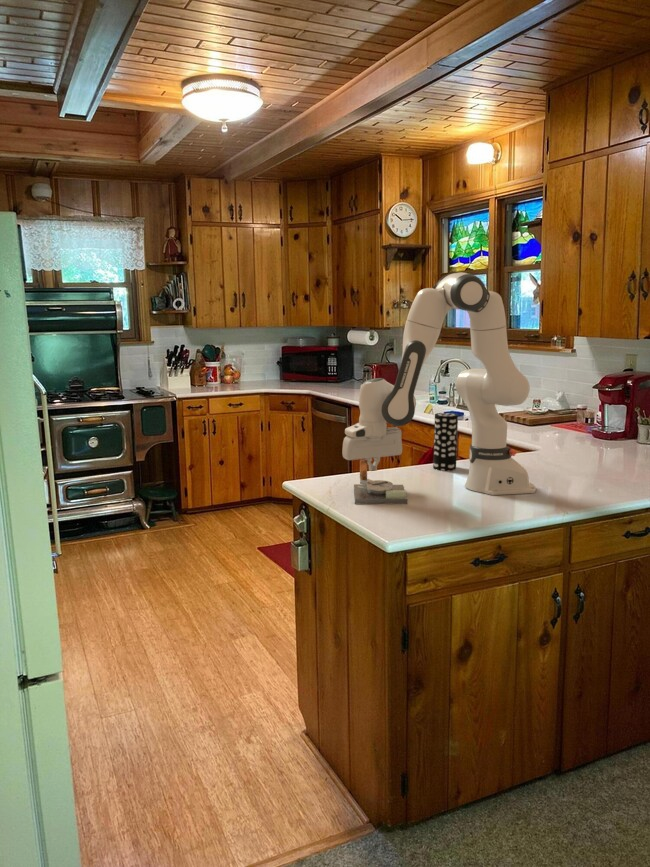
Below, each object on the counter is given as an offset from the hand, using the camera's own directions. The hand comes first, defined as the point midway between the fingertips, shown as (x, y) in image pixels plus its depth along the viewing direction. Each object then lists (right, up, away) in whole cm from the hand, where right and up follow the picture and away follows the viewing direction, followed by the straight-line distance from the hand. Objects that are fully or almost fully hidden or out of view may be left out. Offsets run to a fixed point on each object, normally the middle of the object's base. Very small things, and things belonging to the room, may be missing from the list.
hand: (372, 470), depth 227 cm
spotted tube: (+29, -1, +31) cm, 42 cm away
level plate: (+2, -8, -6) cm, 10 cm away
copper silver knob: (0, -6, -5) cm, 7 cm away
